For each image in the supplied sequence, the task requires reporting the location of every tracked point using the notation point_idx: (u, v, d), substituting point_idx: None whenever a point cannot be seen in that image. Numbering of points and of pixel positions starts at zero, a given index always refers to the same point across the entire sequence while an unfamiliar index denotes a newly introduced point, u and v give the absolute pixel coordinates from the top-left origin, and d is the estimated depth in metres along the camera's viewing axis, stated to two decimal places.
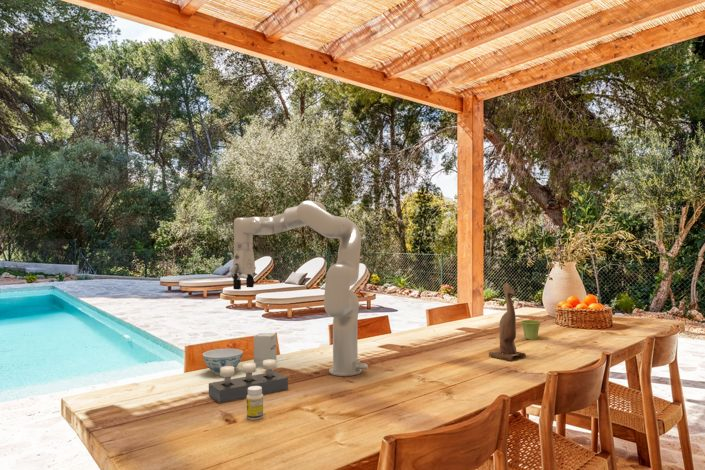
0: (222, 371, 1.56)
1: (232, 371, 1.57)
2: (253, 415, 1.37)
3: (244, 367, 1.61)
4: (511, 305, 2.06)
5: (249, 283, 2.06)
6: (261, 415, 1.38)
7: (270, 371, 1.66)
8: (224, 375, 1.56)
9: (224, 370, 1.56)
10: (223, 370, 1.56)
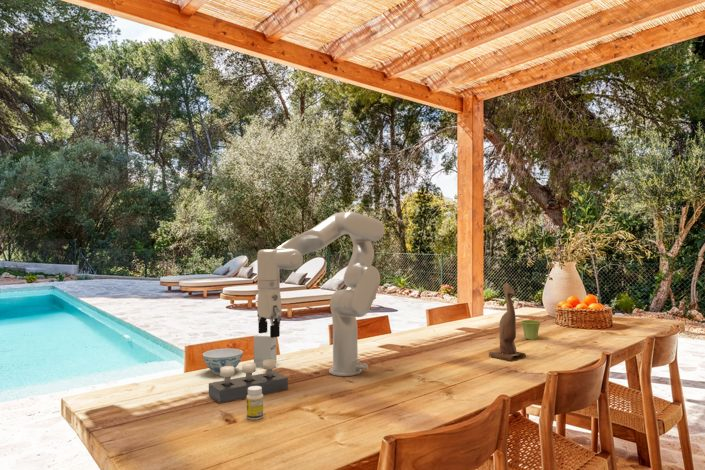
0: (222, 371, 1.56)
1: (232, 371, 1.57)
2: (253, 415, 1.37)
3: (244, 367, 1.61)
4: (511, 305, 2.06)
5: (263, 328, 1.71)
6: (261, 415, 1.38)
7: (270, 371, 1.66)
8: (224, 375, 1.56)
9: (224, 370, 1.56)
10: (223, 370, 1.56)
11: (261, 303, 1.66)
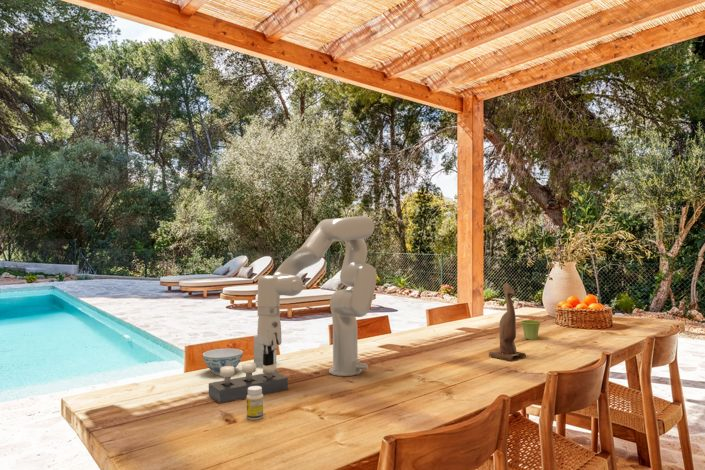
0: (222, 371, 1.56)
1: (232, 371, 1.57)
2: (253, 415, 1.37)
3: (244, 367, 1.61)
4: (511, 305, 2.06)
5: None
6: (261, 415, 1.38)
7: (270, 375, 1.66)
8: (224, 375, 1.56)
9: (224, 370, 1.56)
10: (223, 370, 1.56)
11: (261, 330, 1.66)
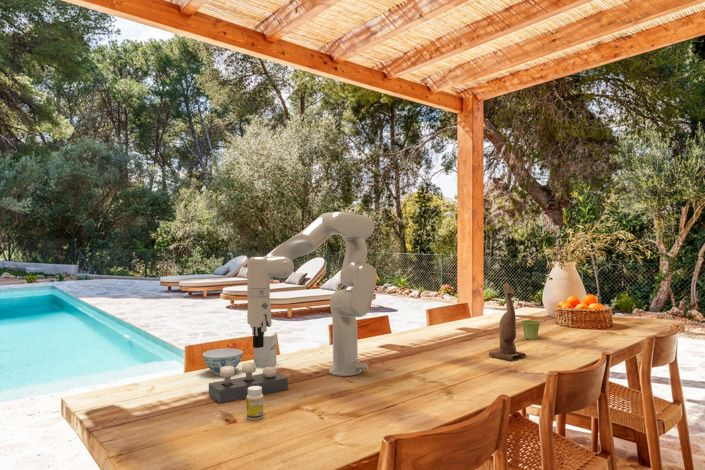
0: (222, 371, 1.56)
1: (232, 371, 1.57)
2: (253, 415, 1.37)
3: (244, 367, 1.61)
4: (511, 305, 2.06)
5: None
6: (261, 415, 1.38)
7: None
8: (224, 375, 1.56)
9: (224, 370, 1.56)
10: (223, 370, 1.56)
11: (251, 311, 1.64)
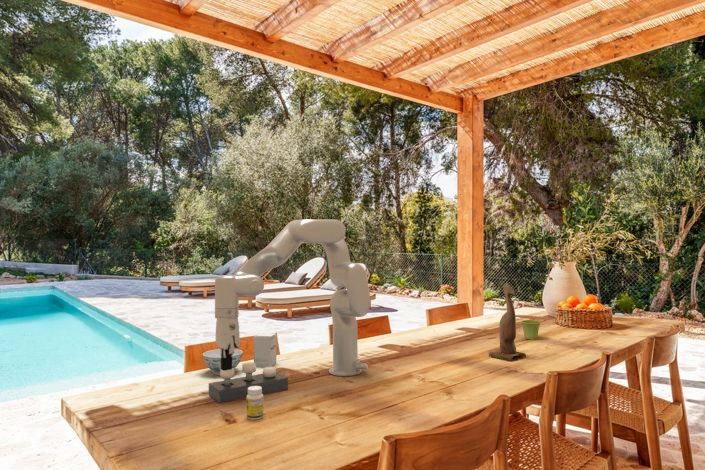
0: (222, 373, 1.56)
1: (232, 373, 1.57)
2: (253, 415, 1.37)
3: (244, 367, 1.61)
4: (511, 305, 2.06)
5: None
6: (261, 415, 1.38)
7: None
8: (224, 377, 1.56)
9: (224, 372, 1.56)
10: (223, 372, 1.56)
11: (218, 332, 1.57)
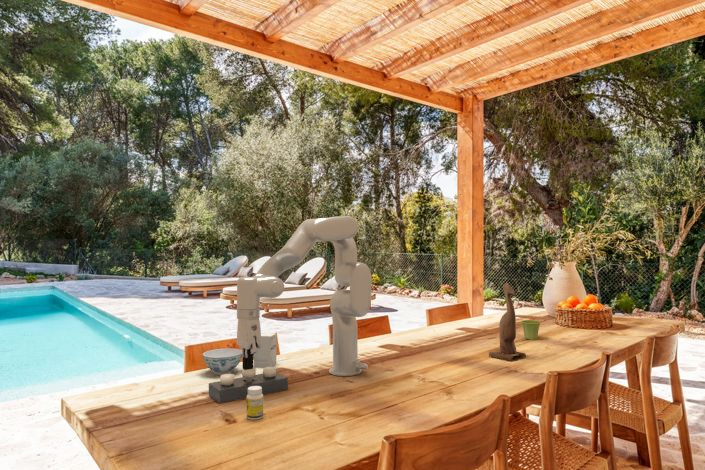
0: (222, 379, 1.56)
1: (232, 379, 1.57)
2: (253, 415, 1.37)
3: (244, 372, 1.61)
4: (511, 305, 2.06)
5: None
6: (261, 415, 1.38)
7: None
8: (224, 383, 1.56)
9: (224, 378, 1.56)
10: (223, 378, 1.56)
11: (240, 333, 1.62)
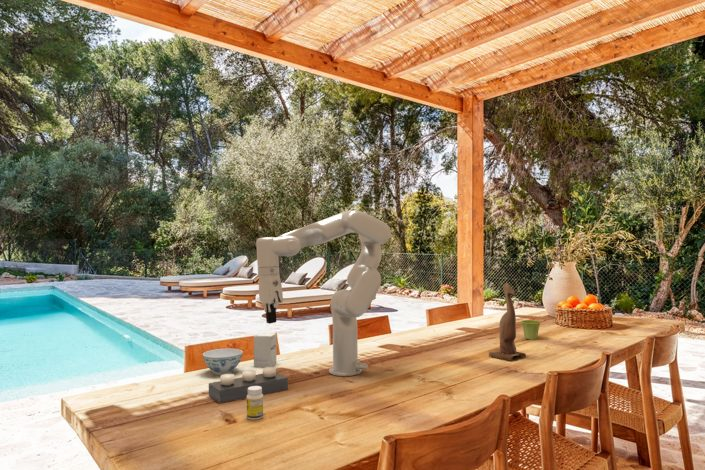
0: (222, 379, 1.56)
1: (232, 379, 1.57)
2: (253, 415, 1.37)
3: (244, 375, 1.61)
4: (511, 305, 2.06)
5: None
6: (261, 415, 1.38)
7: None
8: (224, 383, 1.56)
9: (224, 378, 1.56)
10: (223, 378, 1.56)
11: (262, 289, 1.73)
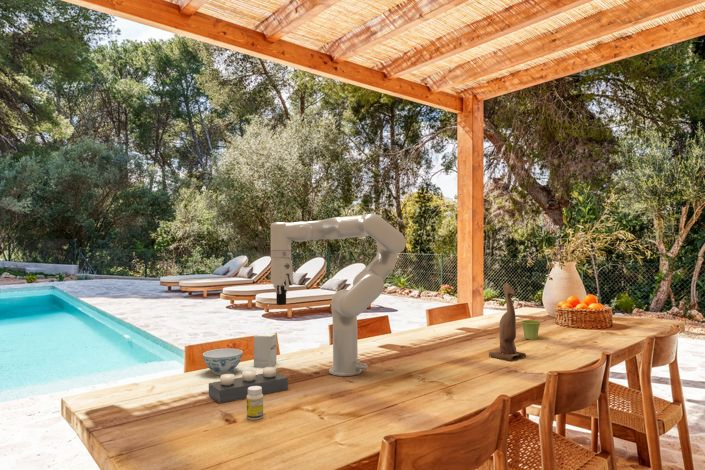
0: (222, 379, 1.56)
1: (232, 379, 1.57)
2: (253, 415, 1.37)
3: (244, 375, 1.61)
4: (511, 305, 2.06)
5: None
6: (261, 415, 1.38)
7: None
8: (224, 383, 1.56)
9: (224, 378, 1.56)
10: (223, 378, 1.56)
11: (274, 272, 1.80)
